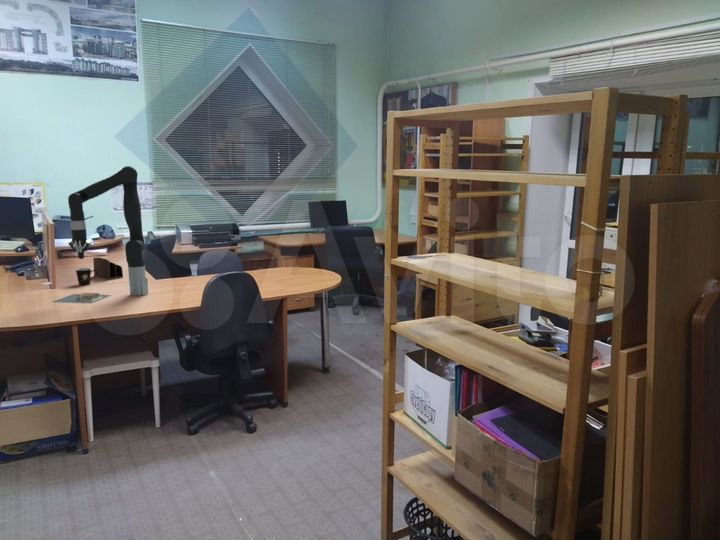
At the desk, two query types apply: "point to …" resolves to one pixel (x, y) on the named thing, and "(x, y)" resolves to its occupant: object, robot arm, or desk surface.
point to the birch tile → (88, 296)
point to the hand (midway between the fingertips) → (81, 258)
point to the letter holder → (107, 269)
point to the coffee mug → (84, 275)
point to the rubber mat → (73, 299)
